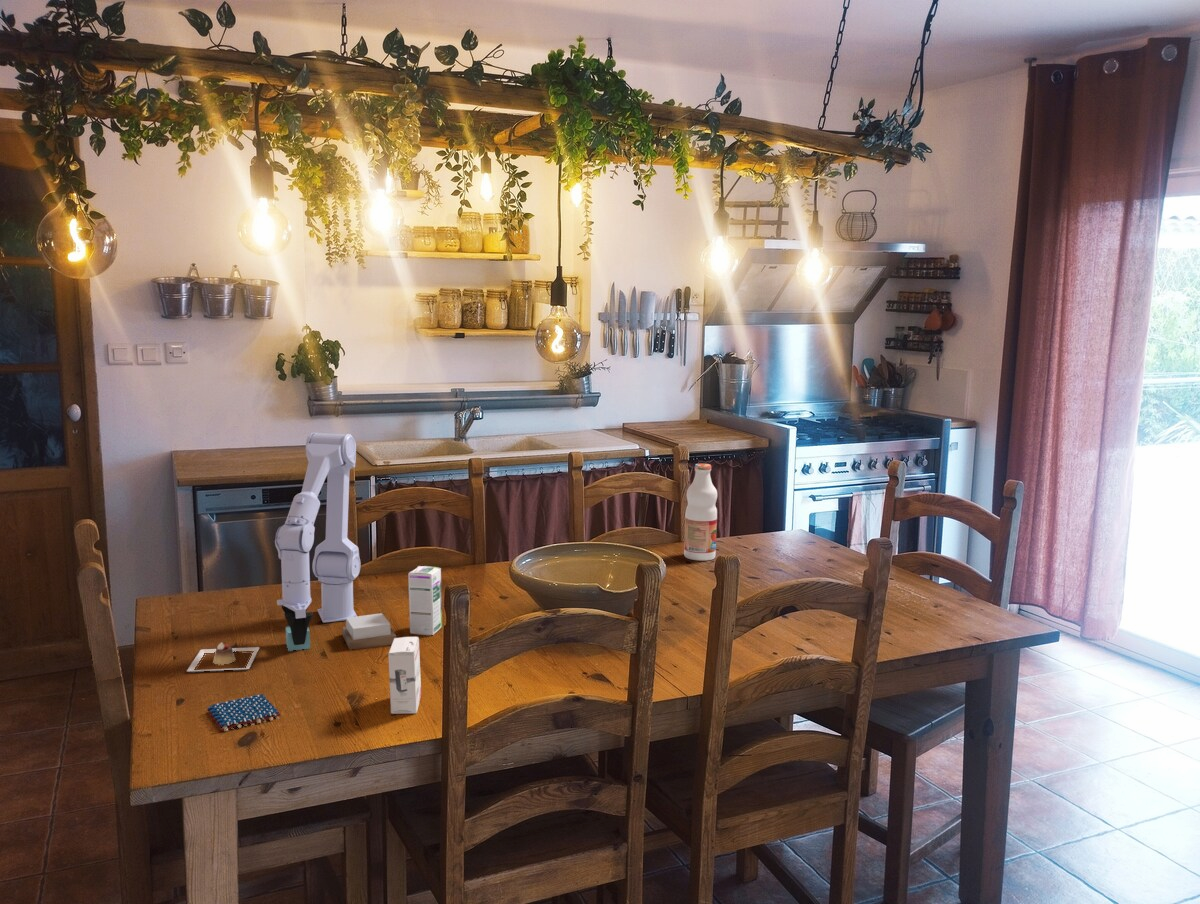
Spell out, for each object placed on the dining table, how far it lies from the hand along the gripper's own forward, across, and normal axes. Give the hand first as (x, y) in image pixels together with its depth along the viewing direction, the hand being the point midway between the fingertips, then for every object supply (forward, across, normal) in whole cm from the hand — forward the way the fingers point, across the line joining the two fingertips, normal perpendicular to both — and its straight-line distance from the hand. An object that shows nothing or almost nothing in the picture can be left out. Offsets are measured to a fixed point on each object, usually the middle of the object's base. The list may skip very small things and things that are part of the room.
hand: (297, 640), depth 207 cm
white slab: (0, +1, +15) cm, 15 cm away
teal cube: (+1, 0, 0) cm, 1 cm away
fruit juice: (+2, -34, +119) cm, 124 cm away
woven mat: (+2, +32, -13) cm, 35 cm away
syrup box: (+2, 0, +28) cm, 28 cm away
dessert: (+2, +3, -15) cm, 16 cm away
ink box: (+2, +38, +15) cm, 41 cm away
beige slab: (+2, +1, +15) cm, 15 cm away
